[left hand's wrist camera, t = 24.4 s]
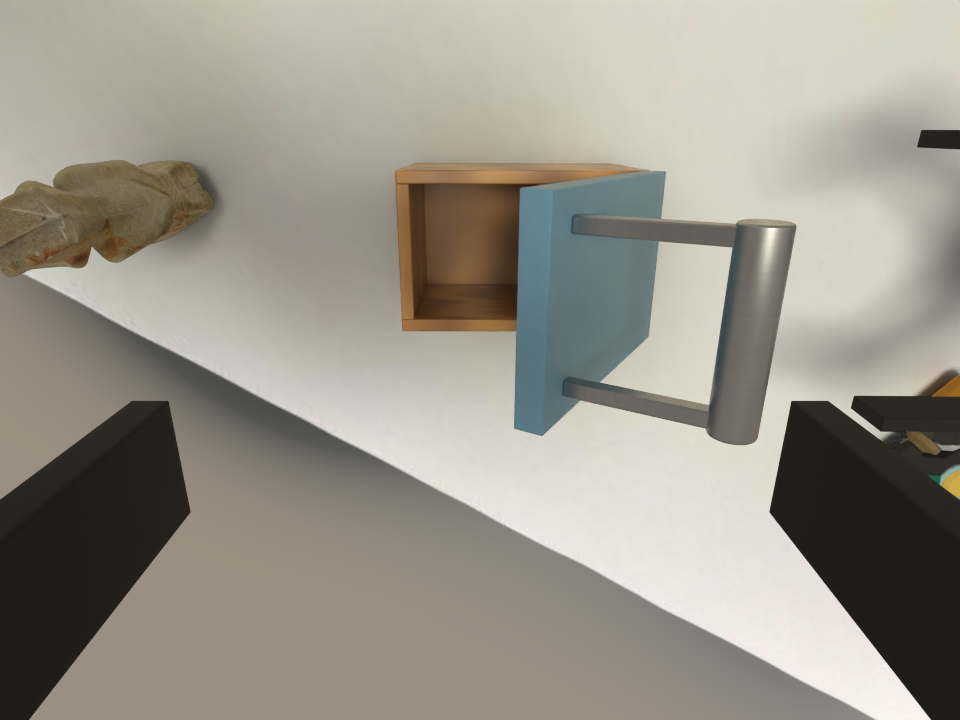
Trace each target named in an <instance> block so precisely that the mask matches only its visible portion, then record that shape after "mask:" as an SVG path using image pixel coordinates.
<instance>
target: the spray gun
mask: <svg viewBox="0 0 960 720" xmlns="http://www.w3.org/2000/svg"><path fill="white" fill-rule="evenodd" d="M932 396H941V397H960V375H957V376H955V377H954V378H953V379H952V380H950V381H949V382H948V383H947V384H946V385H944V386H943V387H942V388H941V389H940V390H938V391H937V392H936V393H935V394H933V395H932ZM906 433H907V436H908V441H906V442H904V443H902V444H900V445H899V446H897V447H896V448H894V449H893V450H894V451H895V452H897V453H898V454H899V455H901V456H902V457H903V458H905V459H906V460H907V461H909V462H910V463H911V464H913V465H914V466H915V467H917V468H918V469H919V470H921V471H922V472H923V473H925V474H926V475H927V476H929V477H930V478H931V479H933V480H934V481H935V482H937V483H938V484H939V485H941V486H942V487H943V488H945V489H946V490H947V491H949V492H950V493H951V494H953V495H954V496H955V497H957V498H958V499H959V500H960V446H954V445H952V446H948V445H939V444H937V443H934V442H933V441H931V440H930V439H928V438H927V437H926V436H924V435H923V434H921V433H920V432H906Z"/></svg>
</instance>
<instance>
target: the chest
mask: <svg viewBox="0 0 960 720" xmlns="http://www.w3.org/2000/svg"><path fill="white" fill-rule="evenodd" d="M639 171H649V170H643V169H638V168H632V167H627V166H621V165H615V164H426V163H415V164H412V165H410V166H407V167H404V168H401V169H398V170H396V171H395V176H396V199H397V221H398V242H399V264H400V286H401V308H402V330H403V331H517V292H518V250H519V209H520V188H524V187H531V186H539V185H546V184H553V183H560V182H567V181H575V180H582V179H589V178H596V177H603V176H611V175H618V174H625V173H632V172H639Z"/></svg>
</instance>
